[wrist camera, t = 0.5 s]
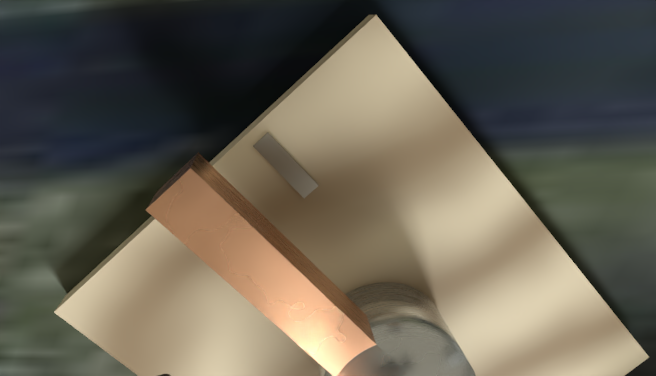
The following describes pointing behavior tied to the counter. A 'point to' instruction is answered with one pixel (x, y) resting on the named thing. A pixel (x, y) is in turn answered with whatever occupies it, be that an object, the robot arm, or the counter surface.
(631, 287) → the counter surface
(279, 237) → the handle
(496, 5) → the counter surface
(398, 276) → the coupling base
